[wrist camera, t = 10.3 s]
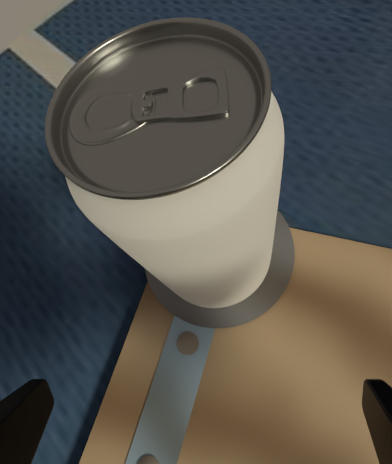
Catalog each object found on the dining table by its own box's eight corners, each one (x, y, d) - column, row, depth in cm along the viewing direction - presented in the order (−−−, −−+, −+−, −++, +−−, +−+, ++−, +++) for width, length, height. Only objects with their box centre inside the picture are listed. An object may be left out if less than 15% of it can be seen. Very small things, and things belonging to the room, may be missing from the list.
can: (162, 212, 20) (49, 34, 9) (263, 200, 19) (270, -17, 8) (162, 313, 17) (3, 232, 7) (278, 305, 16) (319, 194, 6)
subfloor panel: (593, 1169, 8) (658, 1321, 7) (-12, 675, 14) (-39, 706, 12) (533, 253, 17) (557, 245, 15) (176, 185, 22) (172, 174, 21)
